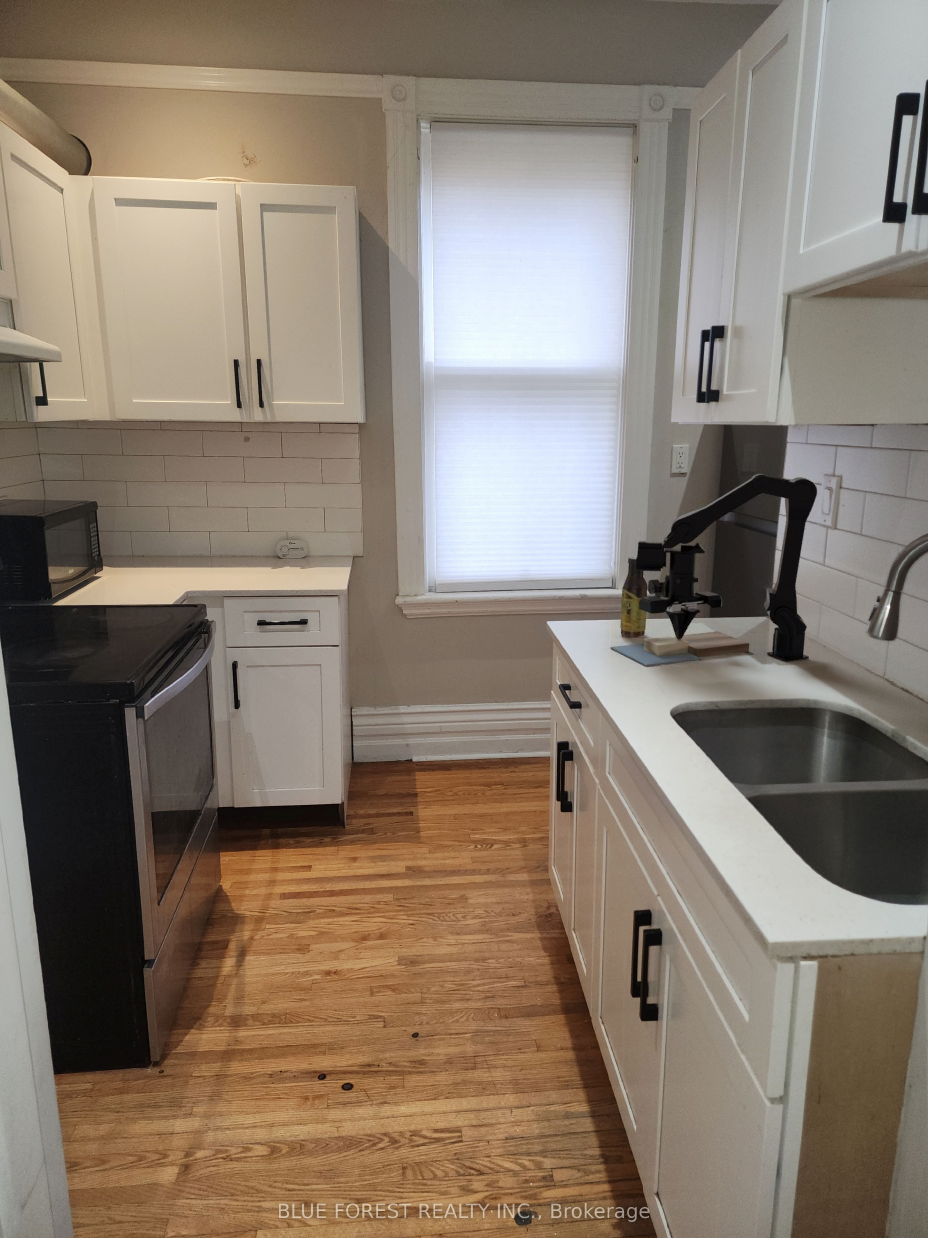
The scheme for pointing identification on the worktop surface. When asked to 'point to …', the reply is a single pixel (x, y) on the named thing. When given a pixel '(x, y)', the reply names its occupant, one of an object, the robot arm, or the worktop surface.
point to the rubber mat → (652, 655)
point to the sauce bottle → (633, 602)
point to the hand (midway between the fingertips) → (678, 638)
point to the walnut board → (714, 644)
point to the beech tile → (665, 645)
